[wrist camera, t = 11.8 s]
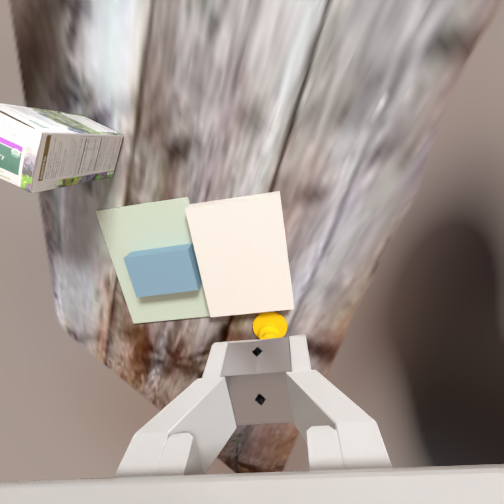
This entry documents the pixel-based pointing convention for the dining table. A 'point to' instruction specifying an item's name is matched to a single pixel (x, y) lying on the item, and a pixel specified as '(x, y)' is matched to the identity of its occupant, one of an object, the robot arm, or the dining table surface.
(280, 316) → the candle
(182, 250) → the tile
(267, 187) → the dining table surface
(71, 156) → the syrup box
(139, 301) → the mat
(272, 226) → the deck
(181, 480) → the robot arm
